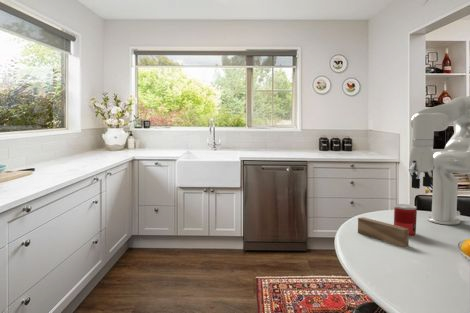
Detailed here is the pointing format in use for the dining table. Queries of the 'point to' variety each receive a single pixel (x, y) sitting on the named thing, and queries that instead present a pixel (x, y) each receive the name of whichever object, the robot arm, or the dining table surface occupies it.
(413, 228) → the canned food
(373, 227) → the walnut board
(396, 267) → the dining table surface
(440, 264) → the dining table surface
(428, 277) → the dining table surface
